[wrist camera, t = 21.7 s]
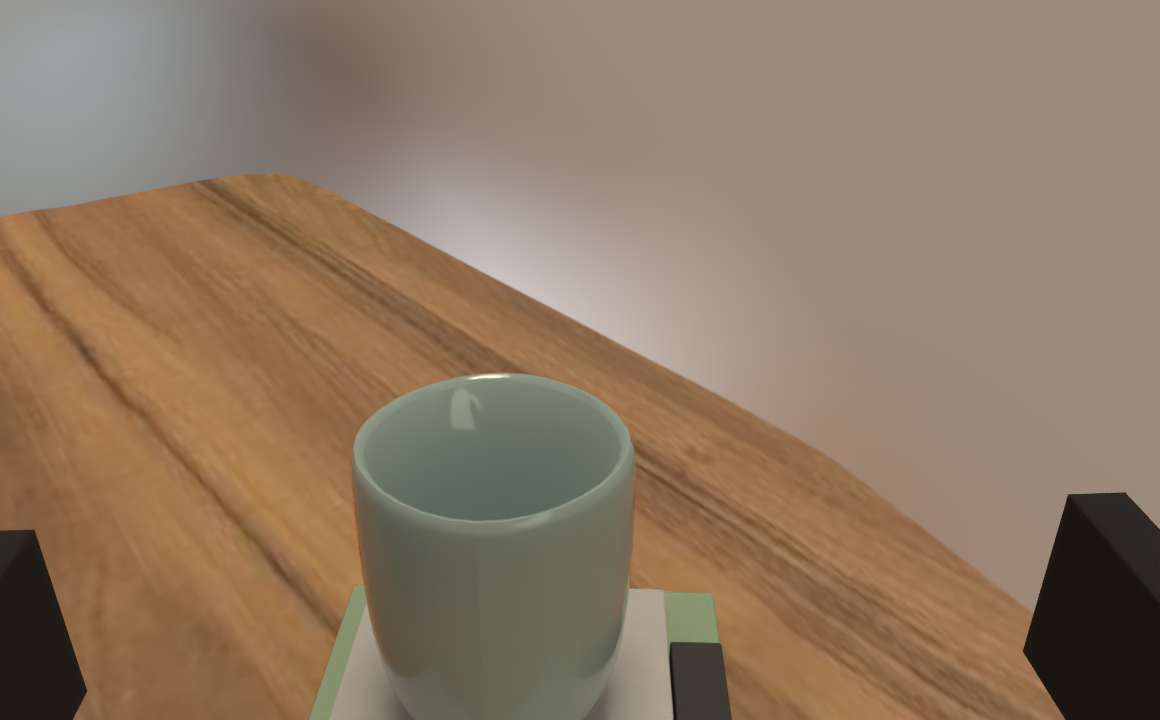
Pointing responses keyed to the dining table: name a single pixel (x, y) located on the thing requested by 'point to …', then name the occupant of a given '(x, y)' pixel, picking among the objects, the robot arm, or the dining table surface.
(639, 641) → the scale
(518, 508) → the cup
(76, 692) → the robot arm
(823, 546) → the dining table surface
